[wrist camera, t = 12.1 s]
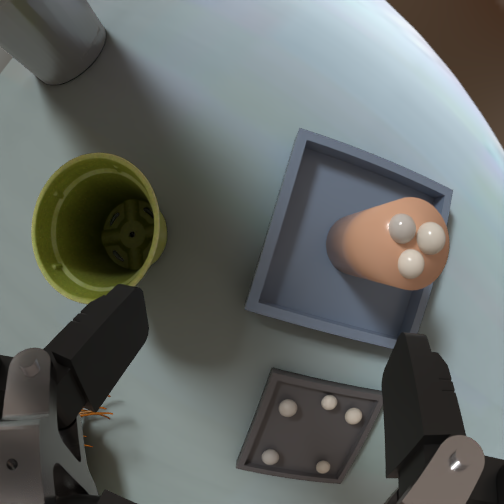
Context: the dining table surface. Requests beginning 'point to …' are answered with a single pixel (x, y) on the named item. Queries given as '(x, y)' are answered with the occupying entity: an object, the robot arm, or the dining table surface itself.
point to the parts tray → (308, 428)
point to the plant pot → (96, 227)
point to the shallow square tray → (314, 243)
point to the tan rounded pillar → (391, 244)
